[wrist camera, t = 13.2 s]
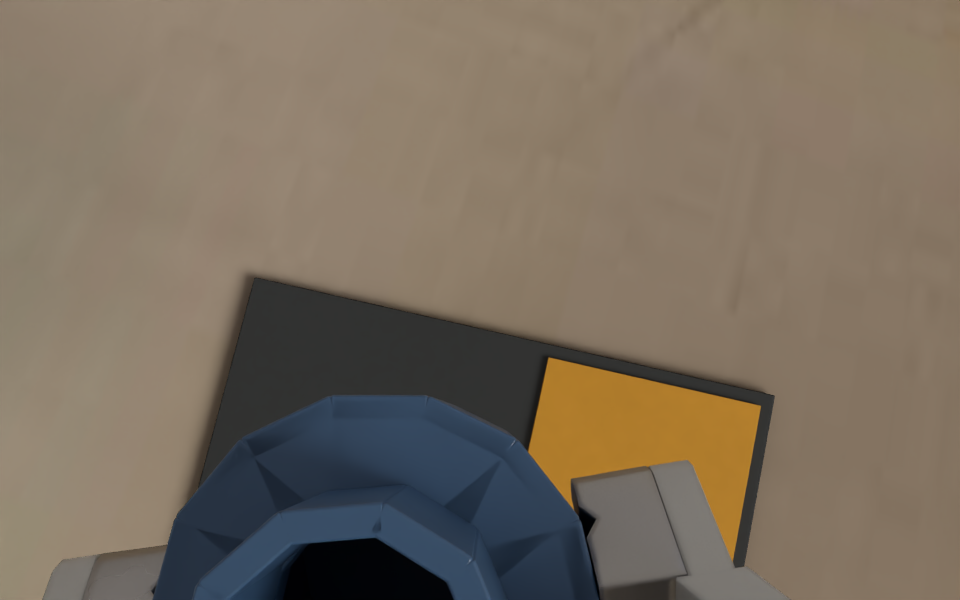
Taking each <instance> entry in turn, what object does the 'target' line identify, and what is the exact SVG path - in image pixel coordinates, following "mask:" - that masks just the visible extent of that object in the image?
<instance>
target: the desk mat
mask: <svg viewBox="0 0 960 600" xmlns="http://www.w3.org/2000/svg"><path fill="white" fill-rule="evenodd" d="M332 395H426V396H430V397H434V398H437V399H439V400H442V401H445V402H447V403H450V404H453V405H455V406H457V407H459V408H461V409H463V410H465V411H468V412H470V413H472V414H474V415H476V416H478V417H480V418H482V419H484V420H486V421H488V422H490V423H492V424H494V425H496V426H498V427H500V428H502V429H504V430H506V431H507V432H509V433H510V434H511V435H512V436H514V437H515V438H516V439H517V440H518V441H520V443H521V444H522V445H523V446H524V448H525V449H526V450H527V451H528V453H529V454H530V455H531V456H532V458H533V459H534V460H535V462H536V463H537V464H538V465H539V467H540V468H541V469H542V470H543V472H544V473H545V474H546V475H547V477H548V478H549V479H550V481H551V482H552V483H553V484H554V486H555V487H556V488H557V489H558V491H559V492H560V493H561V494H562V496H563V497H564V498H565V500H566V501H567V502H568V503H569V505H570V506H571V507H572V508H573V510H574V507H573V503H572V498H571V479H573V478H578V477H584V476H590V475H595V474H601V473H607V472H613V471H618V470H624V469H630V468H636V467H641V466H647V467H649V466H652V465H658V464H664V463H671V462H677V461H683V460H688V461H689V462H690V463H691V464H692V465H693V467H694V469H695V471H696V474H697V476H698V479H699V481H700V484H701V486H702V489H703V491H704V493H705V496H706V498H707V501H708V503H709V506H710V508H711V511H712V513H713V515H714V518H715V520H716V523H717V525H718V528H719V530H720V533H721V535H722V538H723V540H724V542H725V545H726V547H727V550H728V552H729V555H730V557H731V560H732V562H733V564H734V567H735V568H738V567H744V564H745V558H746V553H747V547H748V541H749V536H750V530H751V525H752V519H753V514H754V508H755V503H756V497H757V492H758V486H759V480H760V475H761V469H762V464H763V458H764V453H765V447H766V442H767V436H768V431H769V425H770V420H771V414H772V408H773V403H774V395H770V394H765V393H761V392H757V391H752V390H748V389H743V388H739V387H735V386H730V385H726V384H721V383H717V382H713V381H708V380H704V379H700V378H695V377H691V376H686V375H682V374H678V373H673V372H669V371H664V370H660V369H656V368H651V367H647V366H642V365H638V364H634V363H629V362H625V361H620V360H616V359H612V358H607V357H603V356H598V355H594V354H590V353H585V352H581V351H576V350H572V349H568V348H563V347H559V346H554V345H550V344H546V343H541V342H537V341H533V340H528V339H524V338H519V337H515V336H511V335H506V334H502V333H497V332H493V331H489V330H484V329H480V328H475V327H471V326H467V325H462V324H458V323H453V322H449V321H445V320H440V319H436V318H431V317H427V316H423V315H418V314H414V313H409V312H405V311H401V310H396V309H392V308H388V307H383V306H379V305H374V304H370V303H366V302H361V301H357V300H352V299H348V298H344V297H339V296H335V295H330V294H326V293H322V292H317V291H313V290H308V289H304V288H300V287H295V286H291V285H286V284H282V283H278V282H273V281H269V280H264V279H260V278H254V282H253V286H252V289H251V293H250V297H249V300H248V304H247V308H246V312H245V315H244V319H243V323H242V327H241V330H240V334H239V338H238V341H237V345H236V349H235V353H234V356H233V360H232V364H231V367H230V371H229V375H228V379H227V382H226V386H225V390H224V393H223V397H222V401H221V405H220V408H219V412H218V416H217V419H216V423H215V427H214V431H213V434H212V438H211V442H210V445H209V449H208V453H207V457H206V460H205V464H204V468H203V471H202V475H201V479H200V483H199V486H198V489H199V487H200V486H201V485H202V484H203V483H204V481H205V480H206V479H207V478H208V477H209V475H210V474H211V473H212V472H213V470H214V469H215V468H216V467H217V466H218V464H219V463H220V462H221V461H222V460H223V458H224V457H225V456H226V455H227V454H228V452H229V451H230V450H231V449H232V448H233V446H234V445H235V444H236V443H237V441H238V440H240V439H242V438H243V436H245V435H248V434H250V433H252V432H254V431H256V430H258V429H260V428H262V427H264V426H266V425H268V424H271V423H273V422H275V421H277V420H279V419H281V418H283V417H285V416H287V415H289V414H292V413H294V412H296V411H298V410H300V409H302V408H304V407H306V406H308V405H310V404H312V403H315V402H317V401H319V400H321V399H323V398H325V397H327V396H332Z"/></svg>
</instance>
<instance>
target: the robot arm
mask: <svg viewBox="0 0 960 600" xmlns="http://www.w3.org/2000/svg"><path fill="white" fill-rule="evenodd" d="M571 498H572V503H573V507H574V511H575V512H576V513H577V515H578V516H579V520H580V521H581V523H582V527H583V531H584V535H585V540H586V544H587V548H588V552H589V557H590V561H591V565H592V569H593V573H594V578H595V582H596V586H597V590H598V595H599V599H600V600H791V599H789V598H788V597H787V596H785V595H784V594H783V593H781V592H780V591H779V590H777V589H776V588H775V587H773V586H772V585H771V584H770V583H768V582H767V581H766V580H764V579H763V578H762V577H760V576H759V575H758V574H756V573H755V572H754V571H752V570H751V569H750V568H748V567H747V566H746V567H738V568H735V567H734V564H733V562H732V560H731V557H730V555H729V552H728V550H727V547H726V545H725V542H724V540H723V538H722V535H721V533H720V530H719V528H718V525H717V523H716V520H715V518H714V515H713V513H712V511H711V508H710V506H709V503H708V501H707V498H706V496H705V493H704V491H703V489H702V486H701V484H700V481H699V479H698V476H697V474H696V471H695V469H694V467H693V465H692V464H691V463H690V462H689V461H688V460H683V461H677V462H671V463H664V464H658V465H652V466H649V467H647V466H641V467H636V468H630V469H624V470H618V471H613V472H607V473H601V474H595V475H590V476H584V477H578V478H573V479H571ZM166 548H167V545H163V546H155V547H148V548H141V549H133V550H126V551H118V552H111V553H103V554H98V555H91V556H84V557H77V558H71V559H64V560H62V561H61V562H60V563H59V564H58V566H57V567H56V568H55V569H54V570H53V572H52V574H51V577H50V579H49V582H48V585H47V588H46V590H45V593H44V596H43V599H42V600H152V599H153V596H154V592H155V589H156V585H157V581H158V578H159V574H160V570H161V567H162V563H163V559H164V556H165V552H166Z"/></svg>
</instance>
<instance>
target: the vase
mask: <svg viewBox="0 0 960 600" xmlns="http://www.w3.org/2000/svg"><path fill="white" fill-rule="evenodd" d="M152 600H600V599H599V595H598V590H597V586H596V582H595V578H594V573H593V569H592V565H591V561H590V557H589V552H588V548H587V544H586V540H585V535H584V531H583V527H582V523H581V521H580V520H579V516H578V515H577V513H576V512H575V511H574V510H573V508H572V507H571V506H570V505H569V503H568V502H567V501H566V500H565V498H564V497H563V496H562V494H561V493H560V492H559V491H558V489H557V488H556V487H555V486H554V484H553V483H552V482H551V481H550V479H549V478H548V477H547V475H546V474H545V473H544V472H543V470H542V469H541V468H540V467H539V465H538V464H537V463H536V462H535V460H534V459H533V458H532V456H531V455H530V454H529V453H528V451H527V450H526V449H525V448H524V446H523V445H522V444H521V443H520V441H518V440H517V439H516V438H515V437H514V436H512V435H511V434H510V433H509V432H507V431H506V430H504V429H502V428H500V427H498V426H496V425H494V424H492V423H490V422H488V421H486V420H484V419H482V418H480V417H478V416H476V415H474V414H472V413H470V412H468V411H465V410H463V409H461V408H459V407H457V406H455V405H453V404H450V403H447V402H445V401H442V400H439V399H437V398H434V397H430V396H426V395H332V396H327V397H325V398H323V399H321V400H319V401H317V402H315V403H312V404H310V405H308V406H306V407H304V408H302V409H300V410H298V411H296V412H294V413H292V414H289V415H287V416H285V417H283V418H281V419H279V420H277V421H275V422H273V423H271V424H268V425H266V426H264V427H262V428H260V429H258V430H256V431H254V432H252V433H250V434H248V435H245V436H243V438H242V439H240V440H238V441H237V443H236V444H235V445H234V446H233V448H232V449H231V450H230V451H229V452H228V454H227V455H226V456H225V457H224V458H223V460H222V461H221V462H220V463H219V464H218V466H217V467H216V468H215V469H214V470H213V472H212V473H211V474H210V475H209V477H208V478H207V479H206V480H205V481H204V483H203V484H202V485H201V486H200V487H199V489H198V490H197V491H196V492H195V493H194V495H193V496H192V497H191V498H190V499H189V501H188V502H187V503H186V504H185V506H184V507H183V508H182V509H181V510H180V512H179V513H178V514H177V518H175V520H174V523H173V526H172V530H171V534H170V537H169V541H168V545H167V548H166V552H165V556H164V559H163V563H162V567H161V570H160V574H159V578H158V581H157V585H156V589H155V592H154V596H153V599H152Z"/></svg>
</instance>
